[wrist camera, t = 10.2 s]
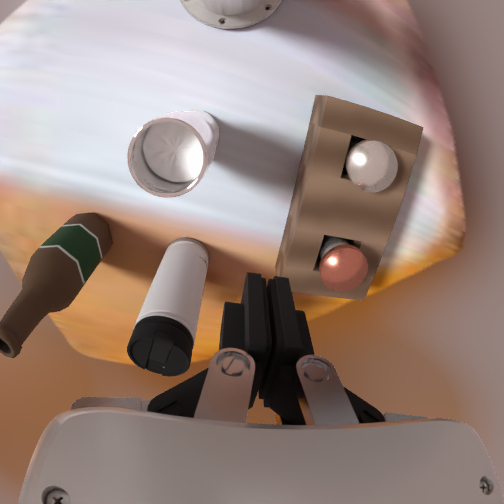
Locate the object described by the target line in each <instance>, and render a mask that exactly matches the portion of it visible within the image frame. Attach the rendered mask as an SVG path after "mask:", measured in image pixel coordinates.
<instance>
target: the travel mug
mask: <svg viewBox="0 0 504 504" xmlns="http://www.w3.org/2000/svg"><path fill="white" fill-rule="evenodd" d="M208 263H209V255H208V252H207V250H206V248H205V247H204V246H203V245H202V244H201V243H200V242H198V241H196V240H194V239H191V238H180V239H177V240H175V241H173V242H172V243H171V244H170V245H169V246H168V248H167V250H166V252H165V254H164V257H163V259H162V261H161V263H160V266H159V268H158V270H157V273H156V275H155V277H154V280H153V282H152V284H151V287H150V289H149V292H148V294H147V296H146V299H145V301H144V304H143V306H142V309H141V311H140V314H139V316H138V319H137V321H136V324H135V326H134V330H133V333H132V336H131V338H130V341H129V344H128V346H127V352H128V355H129V357H130V359H131V360H132V361H133V362H134V363H135V364H136V365H137V366H139V367H141V368H143V369H147V370H149V371H152V372H155V373H158V374H162V375H163V376H177V375H180V374H183V373H184V372H186V371H187V370H188V368H189V366H190V362H191V356H192V349H193V346H194V340H195V336H196V330H197V324H198V318H199V312H200V307H201V301H202V296H203V290H204V285H205V279H206V274H207V269H208Z"/></svg>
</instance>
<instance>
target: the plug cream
mask: <svg viewBox="0 0 504 504" xmlns="http://www.w3.org/2000/svg"><path fill="white" fill-rule="evenodd" d="M344 167H346V171H347V174H348V176H349V178H350V180H351V181H352V182H353V183H354V184H355V185H356V186H357V187H358V188H359V189H361V190H363V191H365V192H370V193H375V192H380V191H382V190H384V189H386V188H387V187H388V186H389V185H390V184H391V183H392V182H393V180H394V179H395V177H396V174H397V169H398V163H397V158H396V155H395V153H394V152H393V150H392V149H391V148H390V147H389V146H388V145H386V144H385V143H382V142H380V141H378V140H374V139H367V140H363V141H362V140H359V139H357V138H355V137H351V139H350V143H349V147H348V151H347V155H346V159H345V163H344Z"/></svg>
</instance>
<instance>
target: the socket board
mask: <svg viewBox="0 0 504 504" xmlns="http://www.w3.org/2000/svg"><path fill="white" fill-rule="evenodd" d="M422 131H423V127H421V126H418V125H416V124H413V123H411V122H408V121H405V120H403V119H400V118H397V117H394V116H392V115H389V114H386V113H383V112H380V111H377V110H374V109H371V108H368V107H365V106H361V105H358V104H355V103H351V102H348V101H345V100H341V99H338V98H334V97H330V96H322V95H316V96H315V101H314V105H313V110H312V114H311V119H310V123H309V128H308V132H307V137H306V141H305V146H304V150H303V154H302V159H301V163H300V167H299V172H298V176H297V180H296V184H295V189H294V193H293V197H292V201H291V205H290V209H289V214H288V218H287V222H286V226H285V230H284V234H283V238H282V242H281V246H280V250H279V254H278V258H277V262H276V272H277V276H278V277H286V278H289V282H290V287H291V292H296V293H304V294H312V295H320V296H329V297H337V298H346V299H354V300H364V299H365V296H366V294H367V292H368V289H369V287H370V285H371V282H372V280H373V278H374V275H375V273H376V270H377V268H378V265H379V263H380V260H381V258H382V255H383V253H384V250H385V247H386V245H387V242H388V239H389V237H390V234H391V231H392V228H393V226H394V223H395V220H396V217H397V214H398V211H399V208H400V206H401V203H402V200H403V196H404V193H405V190H406V187H407V184H408V181H409V178H410V174H411V171H412V168H413V164H414V161H415V157H416V154H417V150H418V147H419V143H420V139H421V135H422ZM351 135H353V136H357V137H360V138H364V139H374V140H378V141H380V142H382V143H385V144H386V145H388V146H389V147H390V148H391V149H392V150H393V152H394V153H395V155H396V158H397V163H398V169H397V174H396V177H395V179H394V180H393V182H392V183H391V184H390V185H389V186H388V187H387V188H386V189H384V190H382V191H380V192H375V193H370V192H365V191H363V190H361V189H359V188H358V187H357V186H356V185H355V184H354V183H353V182H352V181H351V180H350V178H349V176H348V174H347V171H346V170H344V169H343V166H344V163H345V159H346V155H347V151H348V147H349V143H350V139H351ZM324 235H329V236H334V237H340V238H346V240H347V241H348V243H349V245H353V246H355V247H357V248H358V249H360V250H361V252H362V253H363V255H364V256H365V258H366V260H367V263H368V271H367V274H366V277H365V278H364V280H363V281H362V282H361V283H360V284H359V285H358V286H357V287H355V288H353V289H351V290H348V291H343V292H338V291H333V290H331V289H329V288H328V287H327V286H325V284H324V283H323V281H322V278H321V275H320V272H319V265H320V261H321V257H320V255H319V250H320V247H321V244H322V240H323V237H324Z"/></svg>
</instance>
